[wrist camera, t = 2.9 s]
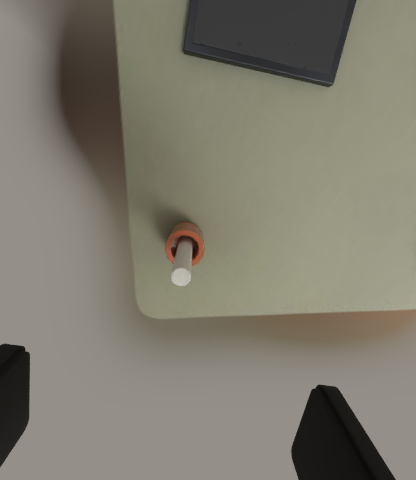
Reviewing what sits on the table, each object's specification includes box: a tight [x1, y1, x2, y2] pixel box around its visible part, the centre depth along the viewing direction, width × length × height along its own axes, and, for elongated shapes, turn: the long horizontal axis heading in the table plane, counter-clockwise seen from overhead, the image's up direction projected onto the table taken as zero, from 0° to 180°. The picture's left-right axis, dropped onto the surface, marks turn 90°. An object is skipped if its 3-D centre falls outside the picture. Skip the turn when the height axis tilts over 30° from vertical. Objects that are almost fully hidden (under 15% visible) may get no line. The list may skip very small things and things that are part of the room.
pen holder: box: [165, 222, 204, 266], centre depth 27 cm, size 4×4×4 cm
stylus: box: [171, 236, 193, 286], centre depth 23 cm, size 1×1×10 cm
